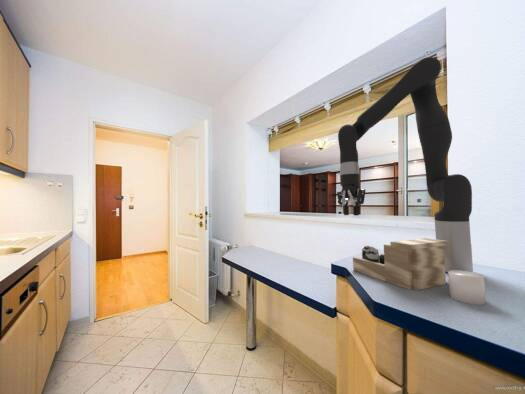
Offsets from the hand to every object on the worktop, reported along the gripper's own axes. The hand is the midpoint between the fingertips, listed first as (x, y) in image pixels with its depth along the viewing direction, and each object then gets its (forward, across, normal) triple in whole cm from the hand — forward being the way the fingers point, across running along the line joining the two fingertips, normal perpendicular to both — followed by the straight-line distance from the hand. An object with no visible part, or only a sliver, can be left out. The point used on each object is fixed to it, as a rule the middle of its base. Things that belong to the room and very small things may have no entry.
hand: (351, 215), depth 90 cm
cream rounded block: (+19, -38, +1) cm, 43 cm away
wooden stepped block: (+19, -19, 0) cm, 27 cm away
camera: (+20, -11, 0) cm, 23 cm away
